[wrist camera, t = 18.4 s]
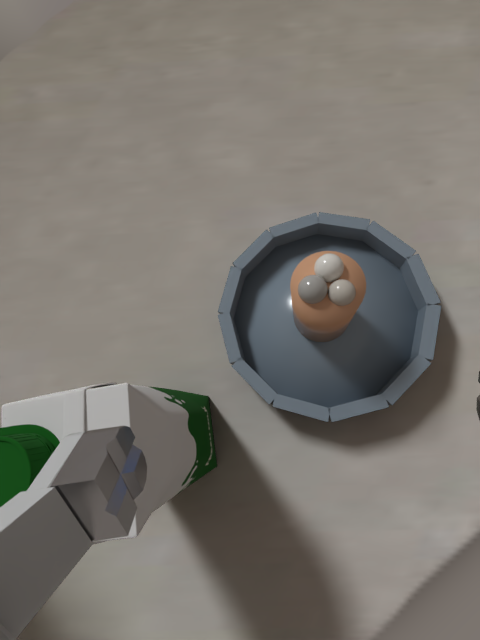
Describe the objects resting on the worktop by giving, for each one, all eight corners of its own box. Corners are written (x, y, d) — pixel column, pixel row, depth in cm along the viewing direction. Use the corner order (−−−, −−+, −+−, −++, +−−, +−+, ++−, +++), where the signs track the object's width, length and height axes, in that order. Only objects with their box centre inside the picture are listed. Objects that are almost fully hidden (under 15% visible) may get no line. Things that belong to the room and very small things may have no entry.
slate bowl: (329, 462, 32) (332, 469, 28) (191, 322, 37) (181, 314, 34) (469, 312, 33) (488, 302, 29) (314, 199, 38) (315, 179, 35)
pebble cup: (322, 353, 33) (331, 332, 23) (281, 316, 35) (273, 280, 25) (362, 314, 33) (387, 275, 23) (319, 278, 35) (326, 228, 25)
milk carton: (137, 399, 36) (-43, 394, 17) (217, 385, 35) (119, 364, 16) (143, 486, 34) (-58, 592, 15) (228, 475, 33) (130, 573, 14)
